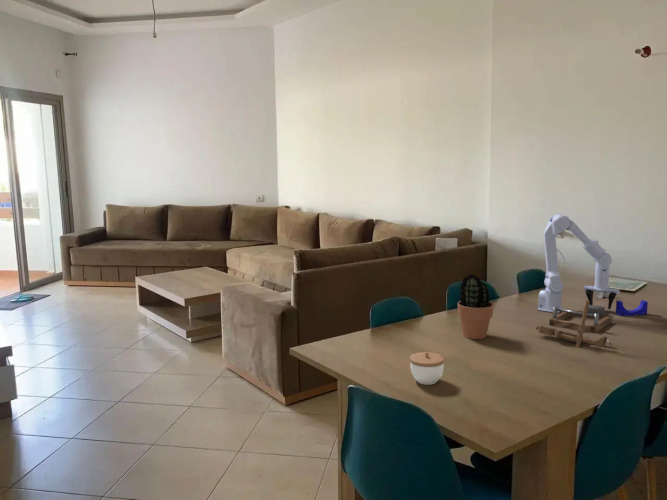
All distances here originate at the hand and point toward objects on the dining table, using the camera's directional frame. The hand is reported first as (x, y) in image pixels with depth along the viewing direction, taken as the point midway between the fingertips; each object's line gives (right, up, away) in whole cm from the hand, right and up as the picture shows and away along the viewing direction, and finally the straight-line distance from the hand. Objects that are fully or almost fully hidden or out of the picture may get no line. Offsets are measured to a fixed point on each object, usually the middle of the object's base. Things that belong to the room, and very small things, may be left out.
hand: (600, 307), depth 251 cm
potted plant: (-65, -8, -31) cm, 73 cm away
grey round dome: (-5, -3, -5) cm, 8 cm away
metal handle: (-22, -6, -23) cm, 32 cm away
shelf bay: (-17, -5, -18) cm, 25 cm away
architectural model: (+14, +1, +20) cm, 25 cm away
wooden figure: (-31, -9, -40) cm, 51 cm away
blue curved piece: (+11, -3, -6) cm, 13 cm away
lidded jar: (-92, -16, -76) cm, 120 cm away
